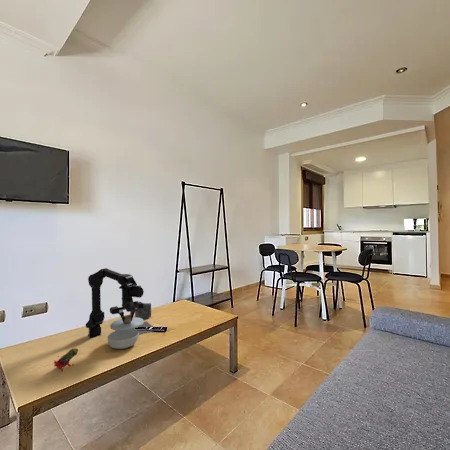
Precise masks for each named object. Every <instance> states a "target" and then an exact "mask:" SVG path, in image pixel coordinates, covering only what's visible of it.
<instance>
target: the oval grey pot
mask: <svg viewBox="0 0 450 450" xmlns="http://www.w3.org/2000/svg"><path fill="white" fill-rule="evenodd" d="M139 336H140V335H139V332H138V331H137V330H135V329H132V330H126V331H115V330H113V331H112V332H110V333H109V334H108V336H107V344H108V345H109V347H110V348H113V349H117V350H124V349H127V348H129V347H132V346H133V345H135V344H136V343H137V341H138V340H139Z"/></svg>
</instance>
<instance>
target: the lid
mask: <svg viewBox="0 0 450 450" xmlns="http://www.w3.org/2000/svg"><path fill="white" fill-rule="evenodd" d="M144 320H145V319H142V318H137V317H134V316H133V319H132V321H131V315H130V314H128V315H127V314H126V315H124V323H123V321H122V318H120V319H117V320H114V321H113V322H112V323H110V325H109V327H110V329H111V330H113V331H126V330H132V329H135V328H138V327H140V326H142V325H143V324H144V322H145V321H144Z"/></svg>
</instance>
